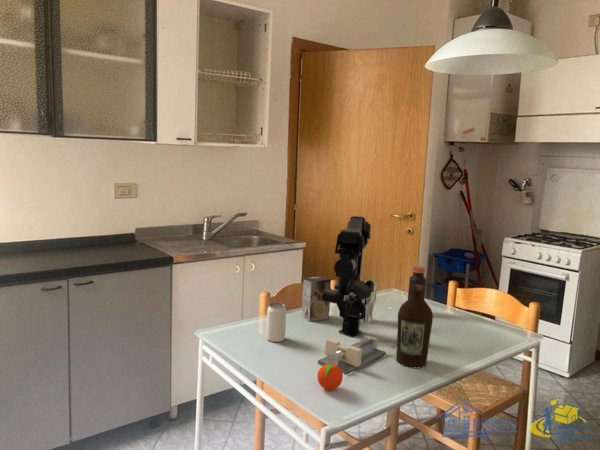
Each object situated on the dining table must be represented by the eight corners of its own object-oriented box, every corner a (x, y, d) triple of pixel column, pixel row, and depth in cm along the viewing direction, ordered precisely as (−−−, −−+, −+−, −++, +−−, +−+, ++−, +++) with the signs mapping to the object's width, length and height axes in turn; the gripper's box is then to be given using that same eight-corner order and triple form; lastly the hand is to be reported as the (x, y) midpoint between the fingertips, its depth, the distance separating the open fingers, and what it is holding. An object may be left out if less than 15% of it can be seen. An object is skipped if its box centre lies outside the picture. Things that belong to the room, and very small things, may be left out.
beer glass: (377, 320, 195) (380, 283, 193) (369, 324, 190) (372, 286, 187) (361, 316, 199) (363, 280, 197) (353, 320, 193) (356, 283, 191)
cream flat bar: (328, 353, 156) (330, 338, 156) (360, 365, 149) (361, 349, 148) (325, 354, 155) (326, 339, 154) (357, 367, 147) (358, 351, 146)
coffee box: (320, 314, 199) (322, 275, 197) (329, 319, 194) (331, 279, 191) (300, 316, 194) (303, 277, 192) (309, 321, 189) (311, 281, 187)
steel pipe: (366, 345, 166) (367, 334, 165) (376, 348, 163) (377, 338, 163) (326, 364, 149) (327, 352, 149) (337, 368, 146) (338, 356, 146)
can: (282, 343, 166) (284, 309, 164) (263, 341, 167) (265, 306, 165) (286, 336, 172) (288, 303, 170) (268, 334, 173) (270, 301, 172)
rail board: (357, 345, 168) (357, 342, 168) (385, 354, 161) (386, 351, 161) (317, 363, 151) (317, 360, 151) (347, 375, 144) (347, 371, 144)
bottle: (424, 316, 203) (429, 269, 201) (408, 315, 203) (412, 268, 201) (421, 311, 210) (425, 265, 207) (405, 310, 210) (409, 264, 207)
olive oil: (397, 353, 163) (403, 279, 160) (430, 359, 160) (437, 284, 156) (391, 365, 153) (397, 286, 150) (425, 372, 150) (433, 292, 146)
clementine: (336, 398, 130) (338, 373, 129) (311, 392, 133) (313, 367, 132) (344, 386, 138) (346, 361, 137) (321, 380, 140) (322, 356, 139)
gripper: (352, 280, 143) (348, 332, 145) (385, 271, 157) (381, 318, 159) (321, 272, 150) (318, 322, 152) (356, 265, 164) (352, 310, 166)
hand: (344, 318), depth 157 cm, fingers closed
